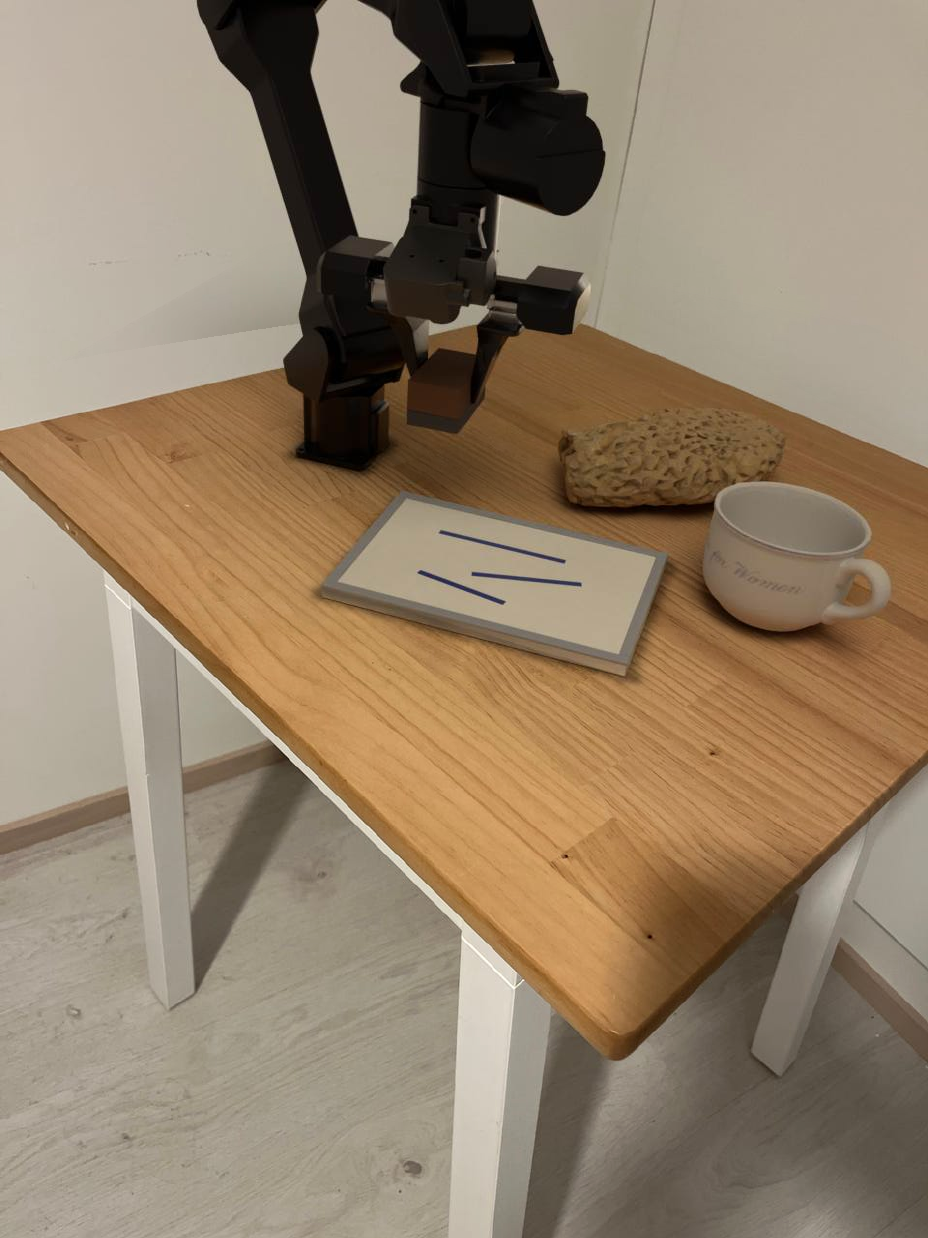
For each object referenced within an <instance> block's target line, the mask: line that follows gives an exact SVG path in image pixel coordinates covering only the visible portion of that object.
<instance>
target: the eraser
mask: <svg viewBox="0 0 928 1238" xmlns="http://www.w3.org/2000/svg"><path fill="white" fill-rule="evenodd" d="M475 356H476V353H470V352H465V351H458V350H454V349H447V348H443V347H438V348H437V349H436V350H435V351H433V353H432V354H431V355H430V356H429V357H428V360H427V361H426V362H425V363H424V364H423V365H422V366H421V367H420V368H419V369H418V370H417V371H416V372H415V373H414V374H413V375H412V376H411V378H410V377H409V378H408V379H407V389H406V390H407V393H406V421H405V422H406V425H407V426H413V427H417V428H422V429H428V430H432V431H437V432H444V433H447V434H453V435H458V434H459V433H460V432H461V431H462V429H463V428H464V426H465V425H466V424H467V423H468V421H469V420H470V419H471V417H472V416H473V415H474V413H475V412H476V411H477V409H478V408H479V407H480V406H481V404H482V403H483V401H484V400H485V399H486V385H485V387H484V389H483V392H482V394H481V396H480V398H479V400H478V401H477V403H476V404H471V402H470V399H471V380H472V374H473V368H474V362H475Z"/></svg>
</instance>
